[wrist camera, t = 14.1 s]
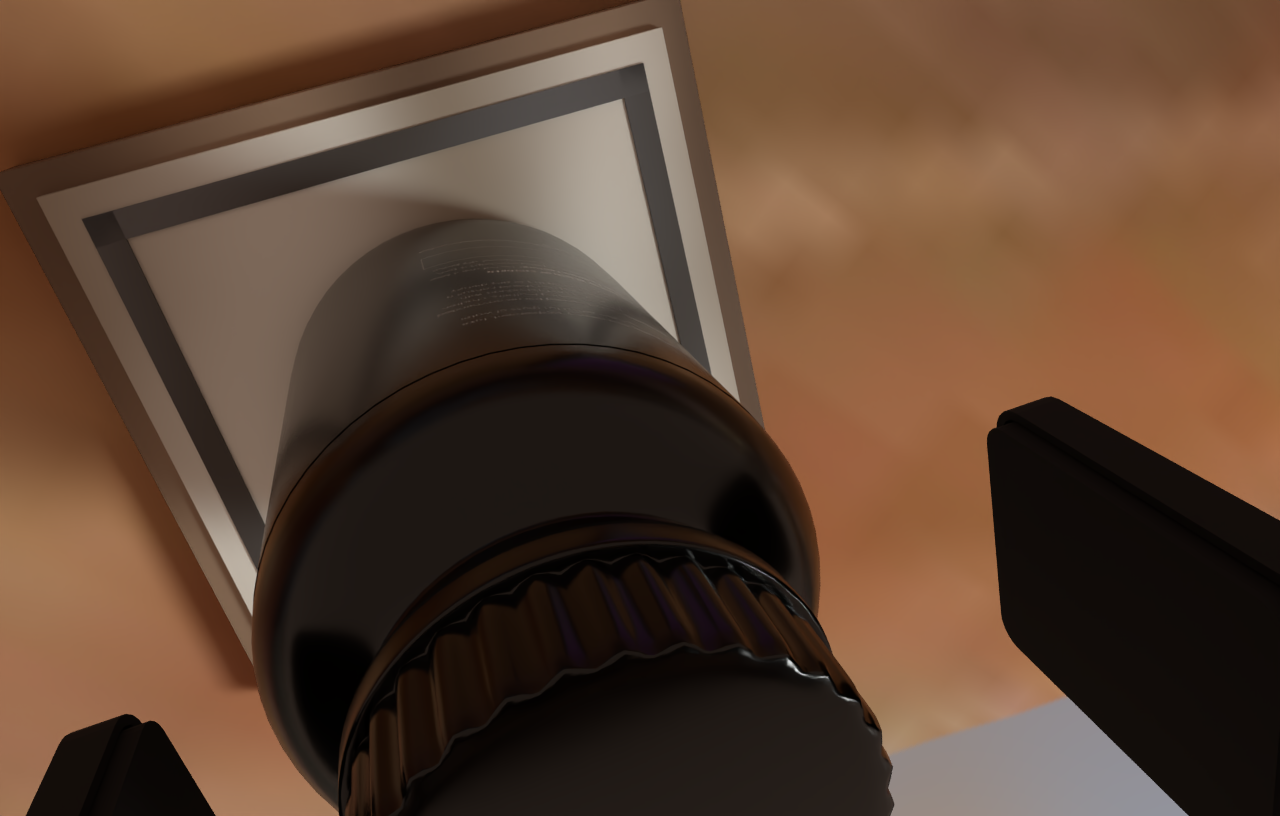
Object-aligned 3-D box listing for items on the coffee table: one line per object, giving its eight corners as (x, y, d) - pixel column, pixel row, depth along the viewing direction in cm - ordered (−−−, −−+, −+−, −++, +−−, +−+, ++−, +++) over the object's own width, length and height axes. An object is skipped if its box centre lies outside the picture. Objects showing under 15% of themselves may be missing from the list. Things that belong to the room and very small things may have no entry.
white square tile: (662, -6, 18) (682, -10, 17) (768, 511, 23) (789, 536, 22) (12, 167, 16) (-13, 176, 15) (284, 690, 21) (280, 727, 20)
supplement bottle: (214, 415, 17) (-30, 1043, 6) (453, 133, 17) (627, 307, 6) (496, 594, 20) (650, 1226, 9) (707, 362, 20) (1131, 755, 9)
